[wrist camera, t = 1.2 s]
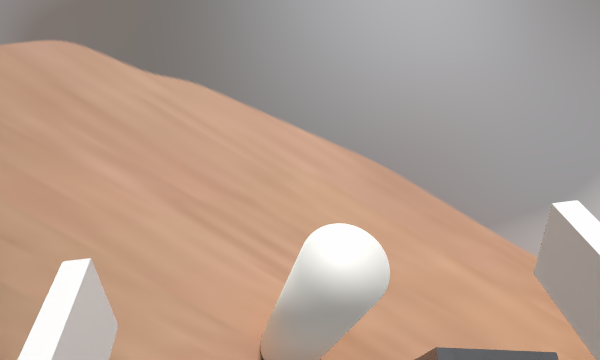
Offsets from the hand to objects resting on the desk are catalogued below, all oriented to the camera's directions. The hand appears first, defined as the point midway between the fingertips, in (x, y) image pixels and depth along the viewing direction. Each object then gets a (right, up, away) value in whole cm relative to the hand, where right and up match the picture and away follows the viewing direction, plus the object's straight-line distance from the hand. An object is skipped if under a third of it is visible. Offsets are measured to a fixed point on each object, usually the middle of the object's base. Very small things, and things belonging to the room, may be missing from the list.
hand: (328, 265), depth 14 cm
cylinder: (-1, -9, +18) cm, 20 cm away
